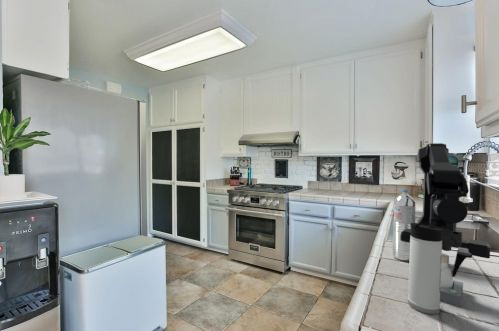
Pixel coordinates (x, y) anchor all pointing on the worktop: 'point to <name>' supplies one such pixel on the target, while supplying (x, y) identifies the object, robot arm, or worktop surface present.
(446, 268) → the pepper shaker
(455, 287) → the socket dock
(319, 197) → the worktop surface
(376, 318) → the worktop surface
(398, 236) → the water bottle
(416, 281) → the travel mug
